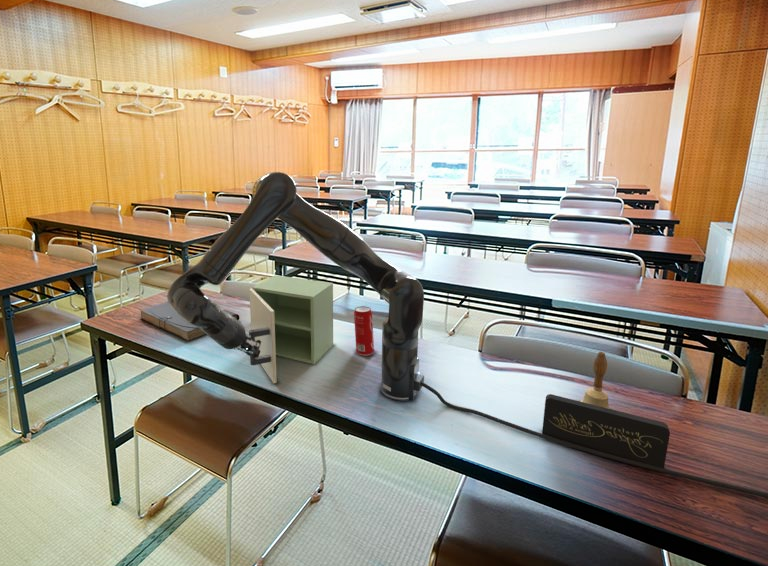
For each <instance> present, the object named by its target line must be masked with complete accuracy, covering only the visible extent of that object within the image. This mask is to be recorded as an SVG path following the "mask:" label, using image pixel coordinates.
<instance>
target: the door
mask: <svg viewBox="0 0 768 566" xmlns="http://www.w3.org/2000/svg"><path fill="white" fill-rule="evenodd" d="M248 291H249V292H248V293H249V310H250V311H249V314H250V315H249V316H250V330H249V331H248V337H250V338H251V339H252V340H253V341H254V342H255V340H256V341H257V340H260V341H261V345H260V348H259V350H260V354H259V356H258V357H254V356H253V355H252V354H250V356H249V362H250V364H249V365H250V366H258V365H261V366H262V368H263V370H264V371H265V373H266V375H267V376H268V378H269V379H270V380H271V382H272V384H277V382H278V379H277V355H276V348H275V318H274V310H273V309H272V308H271V307H270V306H269V305H268V304H267V303H266V302H265V301H264V300H263V299H262V298H261V297H260V296H259V295H258V294H257V293H256V292H255V291H254V290H253V289H252V287H251V288H249V289H248Z"/></svg>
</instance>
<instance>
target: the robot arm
mask: <svg viewBox="0 0 768 566" xmlns="http://www.w3.org/2000/svg"><path fill="white" fill-rule="evenodd" d="M297 191H298V189H297V185H296V182H295V181H294V179H293V177H291V176H290V175H289V174H287V173H285V172H282V171H272V172H268V173H265V174H263V175H261V176H259V177H258V178H256V179H255V181H254V183H253V185H252V188H251V192H252V193H251V195H252V199H251V200H250V201H249V204H248V205H247V207H246V208H245V210H244V211H243V212H242V213H241V215H240V216H239V217H238V218H237V219H236V220H235V221H234V222H233V224H231V225H230V226H229V227H228V228H227V229H226V230H225V231H224V232H223V233H222V234H221V235H220V236H219V237H218V238H217V239H216V240H215V241H214V243H213V244H212V245H211V246H210V247H209V248H208V250H207V251H206V252H205V254H204V255H203V256H202V257H201V259H200V260H199V261H198V262H197V263H196V264H195V265H193V266H191V267H190V268H189V269H188V270H186V271H185V272H183V273H182V274H181V275H180V276H178V277H177V278H175V280H174V281H173V282H172V283H171V285H169V286H170V287H169V288H168V290H167V295H166V298H167V302H169V303H170V304H171V306H172V307H173V308H174V309H175V310H176V311H177V312H178V313H179V315H180V316H181V317H182V318H183V319H185V320H186V321H187V322H189V323H190V324H192V325H194V326H197V327H198V328H200V329H201V330H202V331H204V332H205V333H206V334H205V335H207V336H208V337H209V338H210V339H211V340H213V341H214V342H215V343H216V344H218V345H219V346H221V347H222V348H223V349H226V350H236V351H239V352H243V353H244V354H246V355H247V356H249V357H250V354H252V355H253V356H254V357H258V356H259V354H260V350H259V348H260V345H261V341H260V340H257V341H256V340H255V342H254V341H253V340H252V339H251V338H250V337H249V334H247V333H246V329H245V326H244V325H243V323H241V322H240V321H239V320H237V319H235V318H234V317H233V316H232V315H231V314H230V313H228V312H226V311H225V310H226V309H224V308H223V307H221V306H220V305H219V304H218V303H217V302H214V301H213V300H212V299H211V298H210V297H209V296H208V295H207V294H206V293H205V292H203V290H202V289H201V288H203V287H204V286H205V285H207V284H210V285H213V286H219V285H221V284H222V283H223V282H224V281H225V280H226V278H227V277H228V276H229V275H230V273H231V272H232V271H233V270H234V268H235V267H236V266H237V265H238V263H239V262H240V260H241V259H242V258H243V257H244V255H245V254H246V253H247V252H248V251H249V249H250V247H252V245H253V244H254V243H255V242H256V241H257V239H258V238H260V236H261V235H262V234H263V233H264V232H265V230H266V229H267V228H268V227H269V226H270V225H271V224H272V223H273V222H274V221H275V220H277V219H279V220H280V221H281V222H283V223H284V224H286V225H288V226H289V227H291V228H292V229H293V230H294V231H296V232H297V234H298V235H300V237H302V238H303V239H304V240H305V241H307V243H309V244H310V245H311V246H312V247H314V248H315V249H316V250H317V251H318V252H319V253H321V254H322V255H323V256H324V257H326V258H327V259H329V260H330V261H331V262H333V263H334V264H335V265H337V266H338V267H340V268H341V269H344V270H345V271H347V272H349V273H351V274H353V275H355V276H357V277H359V278H360V279H362V280H363V281H365V282H366V284H368V285H369V286H370V287H371V288H372V289H373V290H374V291H375V292H376V293H377V295H379V296H380V297H381V298H382V299H383V300H384V301H385V302H386V303H387V304H388V317H386V318H385V319H383V321H382V324H381V325H382V331H381V332H382V333H381V334H382V335H381V336H382V337H381V378H380V379H381V382H380V392H381V394H382V395H383V396H384V397H386V398H388V399H391V400H393V401H400V402H404V401H405V402H407V401H411V402H413V401H414V400H415V398H416V396H417V394H418V392H421V389H422V388H424V389H426V390H428V391H430V392H431V393H432V394H434V395H435V396H436V397H437V398H438V400H439V401H440V402H441V404H443V405H444V406H446V407H448V408H450V409H453V410H456V411H460V412H465V413H469V414H472V415H476V416H479V417H481V418H484V419H488V420H491V421H493V422H495V423H499V424H500V425H503V426H506V427H508V428H512V429H515V430H517V431H521V432H523V433H526V434H529V435H532V436H534V437H538V438H540V439H543V440H545V441H550V442H553V443H556V444H559V445H562V446H565V447H569V448H572V449H575V450H578V451H581V452H584V453H588V454H592V455H595V456H599V457H602V458H606V459H609V460H612V461H616V462H620V463H622V464H623V463H624V464H628V465H632V466H634V467H639V468H643V469H646V470H650V471H653V470H654V471H653V472H657V471H658V473H662V474H666V475H670V476H674V477H678V478H683V479H686V480H691V481H695V482H700V483H704V484H708V485H712V486H715V487H720V488H725V489H728V490H732V491H737V492H740V493H741V492H742V493H745V494H750V495H754V496H758V497H763V498H766V499H768V492H766V491H763V490H759V489H755V488H752V487H751V488H750V487H746V486H742V485H737V484H733V483H730V482H724V481H720V480H716V479H712V478H708V477H703V476H698V475H694V474H690V473H686V472H682V471H678V470H673V469H670V468H666V467H664V468H660V467H656V466H653V465H649V464H646V463H642V462H638V461H634V460H630V459H626V458H623V457H619V456H615V455H612V454H608V453H604V452H601V451H597V450H594V449H590V448H587V447H583V446H580V445H577V444H573V443H570V442H567V441H564V440H560V439H557V438H554V437H551V436H548V435H545V434H542V432H538V431H536V430H532V429H529V428H527V427H524V426H521V425H518V424H515V423H511V422H509V421H507V420H504V419H501V418H498V417H496V416H492V415H491V414H488V413H484V412H482V411H479V410H475V409H472V408H468V407H464V406H463V407H462V406H458V405H454V404H452V403H450V402H449V401H447V400H446V399H444V397H443V396H442V395H441V394H440V393H439V392H438V391H437V390H436V389H435V388H433V387H432V386H430V385H428V384H427V383H425V375H423V374H420V358H419V357H418V356H419V355H418V353H419V351H418V350H419V331H420V328H421V326H422V324H423V316H424V304H425V291H424V287H423V285H422V283H421V282H420V281H419V280H418V279H416V277H414V276H411V275H410V274H408V273H407V272H405V271H403V270H401V269H399V268H397V267H396V266H394V265H392V264H390V263H389V262H387V261H386V260H384V259H383V258H382V257H380V256H379V255H378V254H377V253H376V252H375V251H374V250H373V248H372V247H371V246H370V245H369V244H368V243H367V242H366V241H365V239H364V238H363V237H362V236H360V235H359V234H358V233H357V232H356V231H354V230H353V229H352V228H351V227H349V225H347V224H346V223H344V222H343V221H341V220H340V219H338V218H337V217H335V216H333V215H331V214H329V213H327V212H325V211H323V210H321V209H319V208H318V207H315V206H314V205H312V204H311V203H309V202H308V201H306V200H305V199H304V198H303V197H302V196H301V195H300V194H298V193H297ZM223 309H224V310H223Z"/></svg>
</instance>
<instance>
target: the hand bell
mask: <svg viewBox="0 0 768 566" xmlns="http://www.w3.org/2000/svg"><path fill="white" fill-rule="evenodd" d="M607 369H608V361H607V358H606V353H605V352H604V351H598V352H597V355H596V357H594V361H593V373H594V380H593V387H590V388H589V387H588V388H587V389H586V390H585V392H584V395H583V397H582V399H581V400H579V401H580V402H584V403H588V404H592V405H596V406H600V407H604V408H608V409H611V407H610V403H609V395H608V393H606V391H603V379H604V376H605V374H606V373H607Z"/></svg>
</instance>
